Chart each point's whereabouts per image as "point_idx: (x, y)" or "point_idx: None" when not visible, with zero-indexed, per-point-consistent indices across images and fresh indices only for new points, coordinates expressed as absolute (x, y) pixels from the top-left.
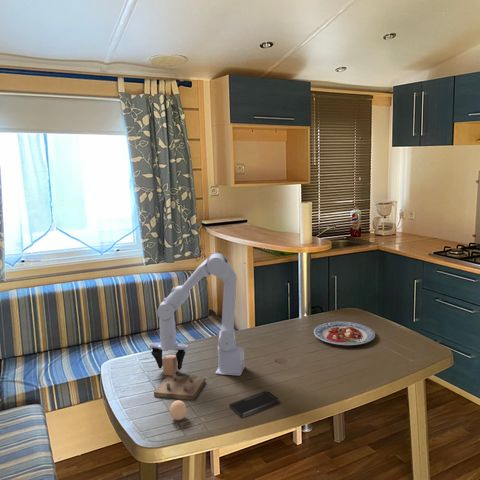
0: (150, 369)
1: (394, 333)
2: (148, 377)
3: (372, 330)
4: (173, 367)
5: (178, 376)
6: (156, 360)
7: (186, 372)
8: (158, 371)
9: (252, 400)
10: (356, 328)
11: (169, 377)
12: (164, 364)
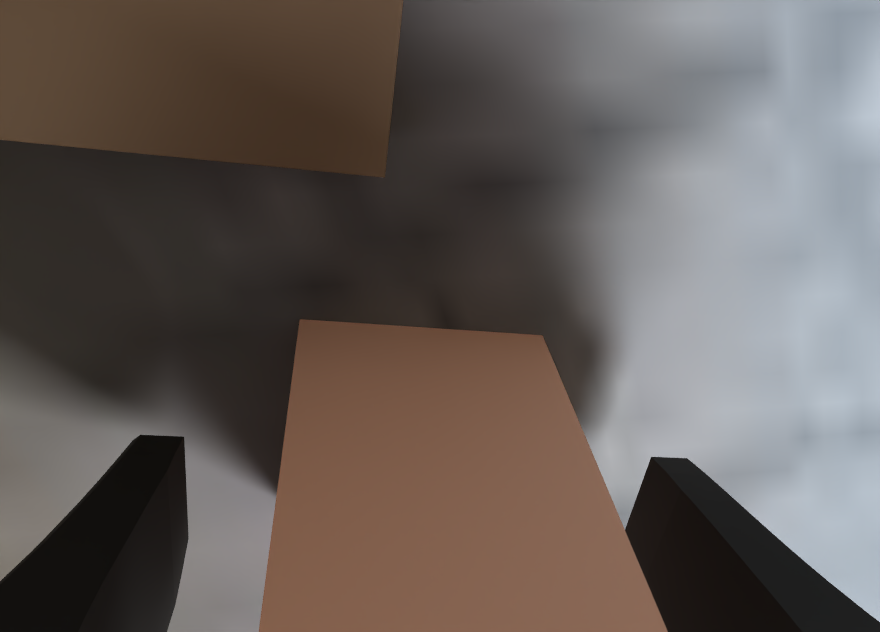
0: (829, 487)
1: None
2: (866, 197)
3: None
4: (284, 459)
5: (6, 110)
6: (858, 618)
7: (59, 451)
8: (671, 439)
9: None
10: None
11: (283, 36)
12: (565, 511)
